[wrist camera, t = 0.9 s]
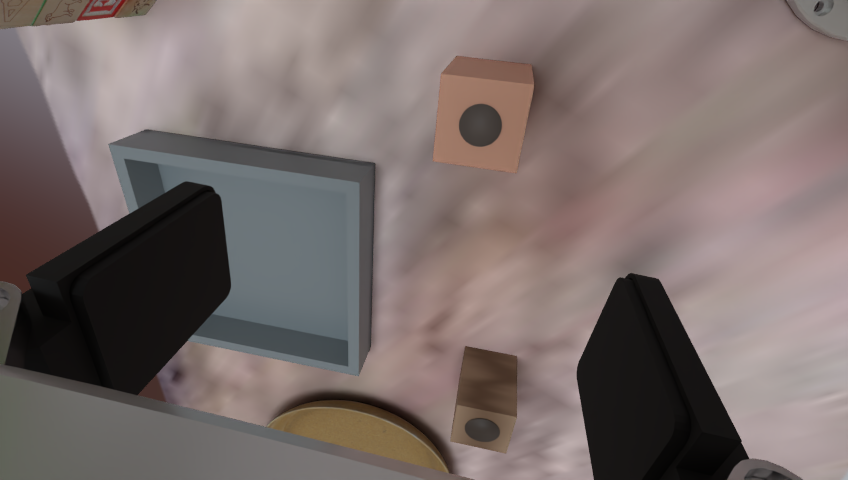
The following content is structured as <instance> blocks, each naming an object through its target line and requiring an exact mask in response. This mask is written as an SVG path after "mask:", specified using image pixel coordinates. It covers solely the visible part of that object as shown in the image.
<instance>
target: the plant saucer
mask: <svg viewBox="0 0 848 480" xmlns="http://www.w3.org/2000/svg"><path fill="white" fill-rule="evenodd" d="M266 427H268V428H272V429H276V430H280V431H284V432H288V433H292V434H296V435H300V436H304V437H308V438H312V439H316V440H320V441H324V442H328V443H332V444H336V445H340V446H344V447H348V448H352V449H356V450H360V451H364V452H368V453H372V454H376V455H380V456H384V457H387V458H391V459H395V460H399V461H403V462H407V463H411V464H415V465H419V466H423V467H427V468H430V469H434V470H438V471H442V472H446V473H449V470H448V467H447V465H446V463H445V461H444V459H443V457H442V456H441V454H440V453H439V451H438V450H437V449H436V447H435V446H434V445H433V444H432V442H431V441H430V440H429V439H428V438H427V437H426V436H425V435H424V434H423V433H422V432H420V431H419V430H418V429H417V428H415V427H414V426H413V425H411V424H410V423H408V422H407V421H405V420H404V419H402V418H400V417H398V416H396V415H394V414H392V413H390V412H388V411H386V410H383V409H381V408H378V407H375V406H372V405H368V404H364V403H360V402H354V401H346V400H323V401H316V402H311V403H306V404H303V405H300V406H297V407H294V408H292V409H290V410H288V411H286V412H284V413H282V414H281V415H279V416H278V417H276V418H275V419H274V420H273V421H271V422H270V423H269V424H268V425H267V426H266Z"/></svg>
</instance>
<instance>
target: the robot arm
mask: <svg viewBox="0 0 848 480" xmlns="http://www.w3.org/2000/svg"><path fill="white" fill-rule="evenodd" d="M786 1H787V3H788V4H789V6H790V7H791V9H792V10H793V11H794V13H795V14H796V16H797V17H798V18H800V19H801V20H802V21H803V22H804V23H805V24H807V25H808V26H809V27H810V28H811V29H813V30H816V31H818V32H820V33H822V34H824V35H826V36H828V37H831V38H836V39H841V40H845V41H848V0H786ZM817 3H819V7H818V8H817V9H816V10H815V11H814V8H815V5H816V4H817ZM26 276H27V279H28V281H29V283H30V286H31V289H30V290H28V291H26V292H25V293H23V294H22V292H21V290H19V289H18V288H17V287H16V286H15V285H12V284H9V283H6V282H0V480H473V479H470V478H466V477H462V476H458V475H454V474H450V473H446V472H442V471H438V470H434V469H430V468H427V467H423V466H419V465H415V464H411V463H407V462H403V461H399V460H395V459H391V458H387V457H384V456H380V455H376V454H372V453H368V452H364V451H360V450H356V449H352V448H348V447H344V446H340V445H336V444H332V443H328V442H324V441H320V440H316V439H312V438H308V437H304V436H300V435H296V434H292V433H288V432H284V431H280V430H276V429H272V428H268V427H264V426H260V425H256V424H252V423H248V422H244V421H240V420H236V419H232V418H228V417H224V416H220V415H215V414H211V413H207V412H203V411H199V410H195V409H191V408H187V407H183V406H179V405H175V404H170V403H166V402H162V401H158V400H154V399H150V398H146V397H142V396H138V394H139V393H140V392H141V391H142V390H143V388H144V387H145V386H146V385H147V384H148V383H149V382H150V381H151V380H152V379H153V378H154V377H155V375H156V374H157V373H158V372H159V371H160V370H161V369H162V368H163V367H164V366H165V365H166V363H167V362H168V361H169V360H170V359H171V358H172V357H173V356H174V355H175V354H176V353H177V351H178V350H179V349H180V348H181V347H182V346H183V345H184V344H185V343H186V342H187V341H188V340H189V338H190V337H191V336H192V335H193V334H194V333H195V332H196V331H197V330H198V329H199V328H200V326H201V325H202V324H203V323H204V322H205V321H206V320H207V319H208V318H209V317H210V316H211V314H212V313H213V312H214V311H215V310H216V309H217V308H218V307H219V306H220V305H221V304H222V302H223V301H224V300H225V299H226V298H227V297H228V295H229V293H230V290H231V277H230V269H229V260H228V252H227V243H226V234H225V226H224V217H223V209H222V201H221V197H220V195H219V194H217V193H216V192H215V190H214V188H213V187H211V186H208V185H203V184H198V183H194V182H188V181H185V182H183V183H181V184H179V185H177V186H176V187H174V188H172V189H171V190H169V191H167V192H166V193H164V194H162V195H160V196H159V197H157V198H155V199H154V200H152V201H150V202H149V203H147V204H145V205H143V206H142V207H140V208H138V209H137V210H135V211H133V212H132V213H130V214H128V215H127V216H125V217H123V218H121V219H120V220H118V221H116V222H115V223H113V224H111V225H110V226H108V227H106V228H105V229H103V230H101V231H99V232H98V233H96V234H95V235H93V236H91V237H89V238H88V239H86V240H85V241H83V242H81V243H79V244H77V245H76V246H74V247H72V248H71V249H69V250H67V251H66V252H64V253H62V254H60V255H59V256H57V257H55V258H54V259H52V260H50V261H49V262H47V263H45V264H44V265H42V266H40V267H39V268H37V269H35V270H33V271H32V272H30V273H28V274H27V275H26ZM577 382H578V388H579V394H580V399H581V405H582V411H583V417H584V423H585V429H586V435H587V441H588V447H589V452H590V458H591V464H592V470H593V476H594V480H803V479H801V478H800V477H798V476H797V475H795V474H793V473H792V472H790V471H788V470H787V469H785V468H783V467H781V466H779V465H776V464H774V463H771V462H769V461H765V460H759V459H749V457H748V455H747V453H746V451H745V449H744V447H743V445H742V443H741V442H742V441H741V439H740V437H739V435H738V433H737V431H736V429H735V427H734V425H733V423H732V421H731V419H730V417H729V415H728V413H727V411H726V409H725V407H724V405H723V403H722V401H721V399H720V397H719V395H718V394H717V392H716V390H715V388H714V386H713V384H712V382H711V380H710V378H709V376H708V374H707V372H706V370H705V368H704V366H703V364H702V362H701V360H700V358H699V356H698V354H697V352H696V350H695V348H694V346H693V345H692V343H691V341H690V339H689V337H688V335H687V333H686V331H685V329H684V327H683V325H682V323H681V321H680V319H679V317H678V315H677V313H676V311H675V309H674V307H673V305H672V303H671V301H670V299H669V298H668V296H667V294H666V292H665V290H664V288H663V286H662V284H661V282H660V281H659V279H656V278H652V277H647V276H642V275H637V274H633V273H630V274H628V275H627V276H626V278H618V279H617V280H616V282H615V284H614V286H613V289H612V291H611V293H610V295H609V297H608V299H607V302H606V304H605V306H604V308H603V310H602V313H601V315H600V317H599V319H598V321H597V324H596V326H595V328H594V330H593V332H592V334H591V337H590V339H589V341H588V343H587V345H586V348H585V350H584V352H583V354H582V356H581V359H580V361H579V363H578V367H577Z"/></svg>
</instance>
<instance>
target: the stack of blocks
mask: <svg viewBox="0 0 848 480" xmlns="http://www.w3.org/2000/svg"><path fill="white" fill-rule="evenodd" d="M155 2H156V0H0V29H6V28H14V27H22V26H41V25H51V24H63V23H73V22H75V20H76V21H80V20H92V19H100V18H109V17H115V18H121V17H131V16H138V15H145V14H146V13H147V12H148V11H149V9H150V8H151V7H152V6H153V4H154V3H155Z"/></svg>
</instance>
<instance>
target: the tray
mask: <svg viewBox="0 0 848 480" xmlns="http://www.w3.org/2000/svg"><path fill="white" fill-rule="evenodd" d="M108 145H109V148H110V151H111V155H112V158H113V161H114V164H115V168H116V171H117V174H118V177H119V181H120V184H121V187H122V191H123V194H124V197H125V200H126V204H127V207H128V210H129V213H132V212H133V211H135V210H137V209H138V208H140V207H142V206H143V205H145V204H147V203H149V202H150V201H152V200H154V199H155V198H157V197H159V196H160V195H162V194H164V193H166V192H167V191H169V190H171V189H172V188H174V187H176V186H177V185H179V184H181V183H183V182H185V181H188V182H194V183H198V184H203V185H208V186H211V187H213V188H214V190H215V192H216V193H217V194H219V195H220V197H221V201H222V209H223V217H224V226H225V234H226V243H227V252H228V260H229V269H230V277H231V290H230V293H229V295H228V297H227V298H226V299H225V300H224V301H223V302H222V304H221V305H220V306H219V307H218V308H217V309H216V310H215V311H214V312H213V313H212V314H211V316H210V317H209V318H208V319H207V320H206V321H205V322H204V323H203V324H202V325H201V326H200V328H199V329H198V330H197V331H196V332H195V333H194V334H193V335H192V336H191V337H190V338H189V340H188V341H191V342H196V343H201V344H205V345H210V346H215V347H220V348H225V349H230V350H234V351H239V352H244V353H249V354H254V355H259V356H263V357H268V358H273V359H278V360H283V361H288V362H292V363H297V364H302V365H307V366H312V367H317V368H321V369H326V370H331V371H336V372H341V373H346V374H350V375H355V376H359V374H360V372H361V369H362V367H363V364H364V362H365V359H366V357H367V355H368V352H369V350H370V347H371V315H372V273H373V230H374V188H375V163H370V162H363V161H357V160H350V159H343V158H336V157H329V156H323V155H316V154H309V153H302V152H295V151H289V150H282V149H275V148H268V147H261V146H255V145H248V144H241V143H234V142H227V141H221V140H214V139H207V138H200V137H194V136H187V135H180V134H173V133H166V132H160V131H153V130H144V131H141V132H139V133H136V134H133V135H131V136H128V137H126V138H123V139H120V140H118V141H115V142H113V143H110V144H108Z"/></svg>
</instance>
